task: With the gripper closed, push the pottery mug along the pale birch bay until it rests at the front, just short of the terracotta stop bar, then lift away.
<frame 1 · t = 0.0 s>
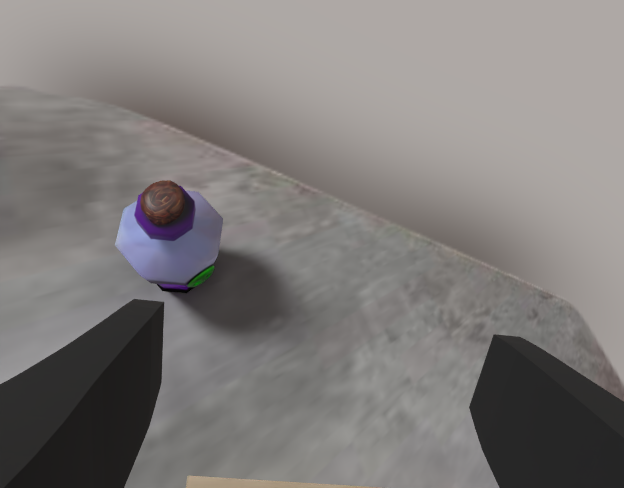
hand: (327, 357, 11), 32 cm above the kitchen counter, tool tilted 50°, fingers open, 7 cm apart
potion bottle: (179, 266, 45), on the kitchen counter
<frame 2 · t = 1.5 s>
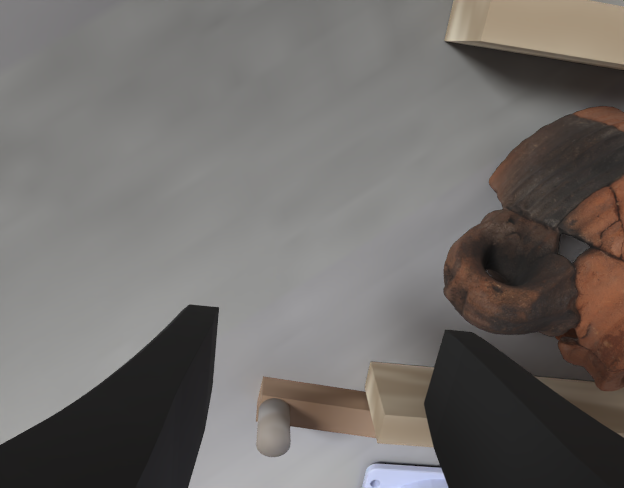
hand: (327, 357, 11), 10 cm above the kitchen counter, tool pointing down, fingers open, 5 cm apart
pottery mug: (550, 226, 21), on the kitchen counter
crank handle: (321, 395, 24), on the kitchen counter
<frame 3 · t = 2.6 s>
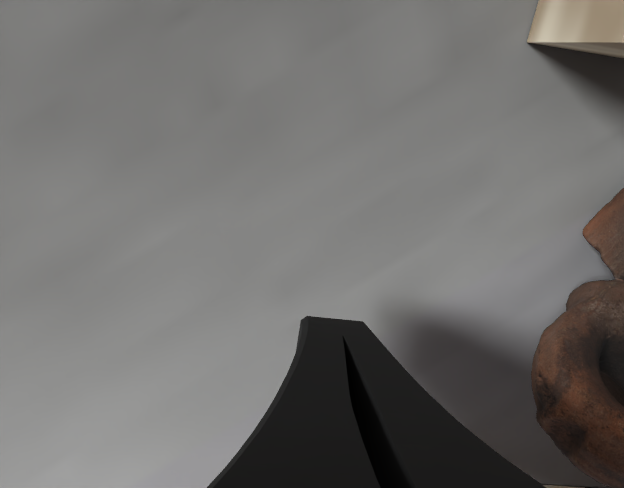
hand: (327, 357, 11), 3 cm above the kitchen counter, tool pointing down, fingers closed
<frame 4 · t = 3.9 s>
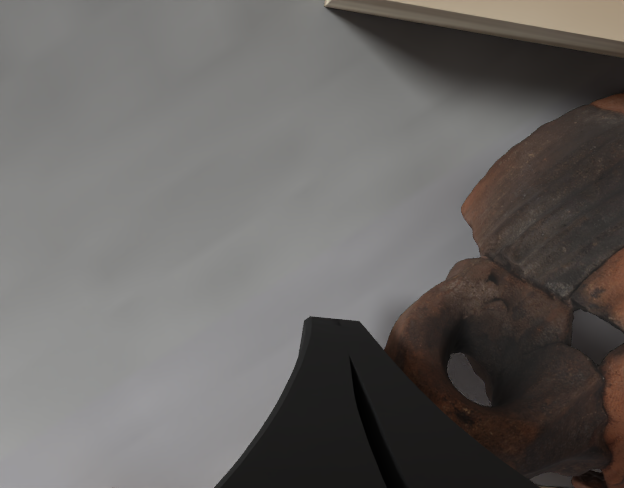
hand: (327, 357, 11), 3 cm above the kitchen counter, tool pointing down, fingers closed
bay: (613, 317, 15), on the kitchen counter
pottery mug: (555, 271, 14), on the kitchen counter, touching gripper
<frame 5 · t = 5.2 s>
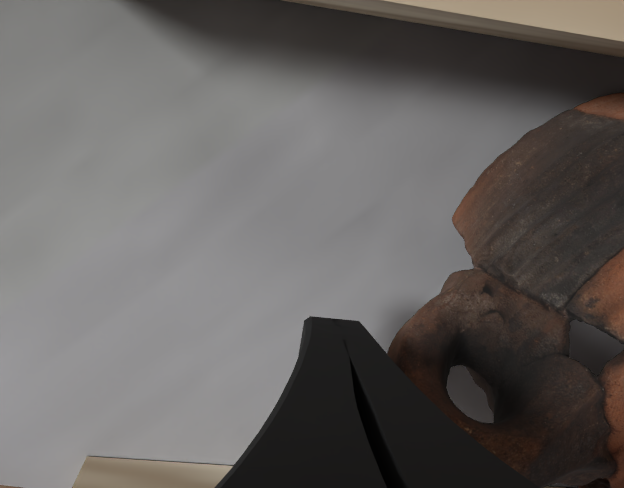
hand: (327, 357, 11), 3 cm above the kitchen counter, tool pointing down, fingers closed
bay: (437, 298, 14), on the kitchen counter
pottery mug: (550, 274, 14), on the kitchen counter, touching gripper
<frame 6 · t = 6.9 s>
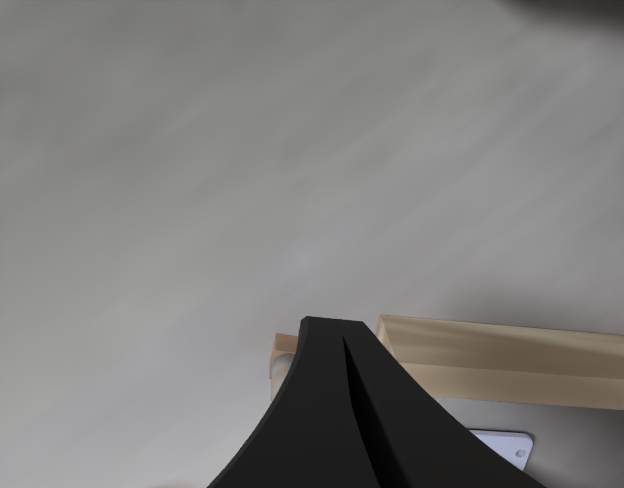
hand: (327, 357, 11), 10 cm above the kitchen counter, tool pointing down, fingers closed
crank handle: (336, 354, 23), on the kitchen counter
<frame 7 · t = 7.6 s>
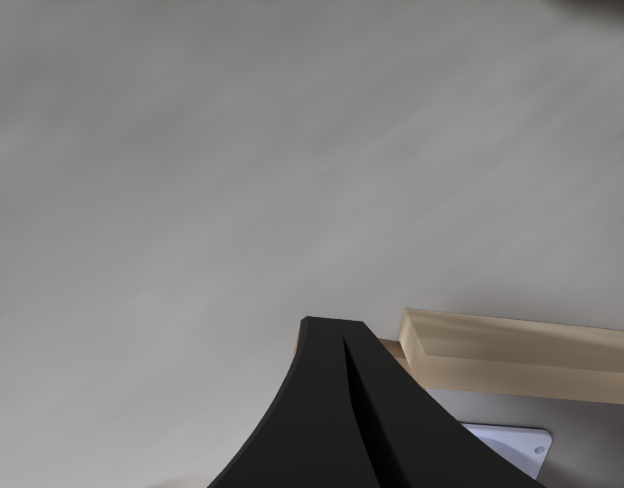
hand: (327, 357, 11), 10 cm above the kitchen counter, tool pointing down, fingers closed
crank handle: (359, 347, 23), on the kitchen counter
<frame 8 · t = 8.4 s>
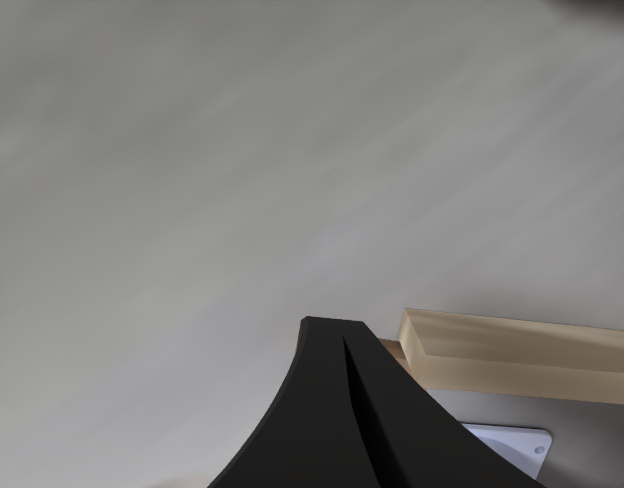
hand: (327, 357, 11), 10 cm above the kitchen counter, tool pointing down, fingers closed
crank handle: (360, 347, 23), on the kitchen counter
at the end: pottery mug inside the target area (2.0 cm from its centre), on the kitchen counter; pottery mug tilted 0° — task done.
